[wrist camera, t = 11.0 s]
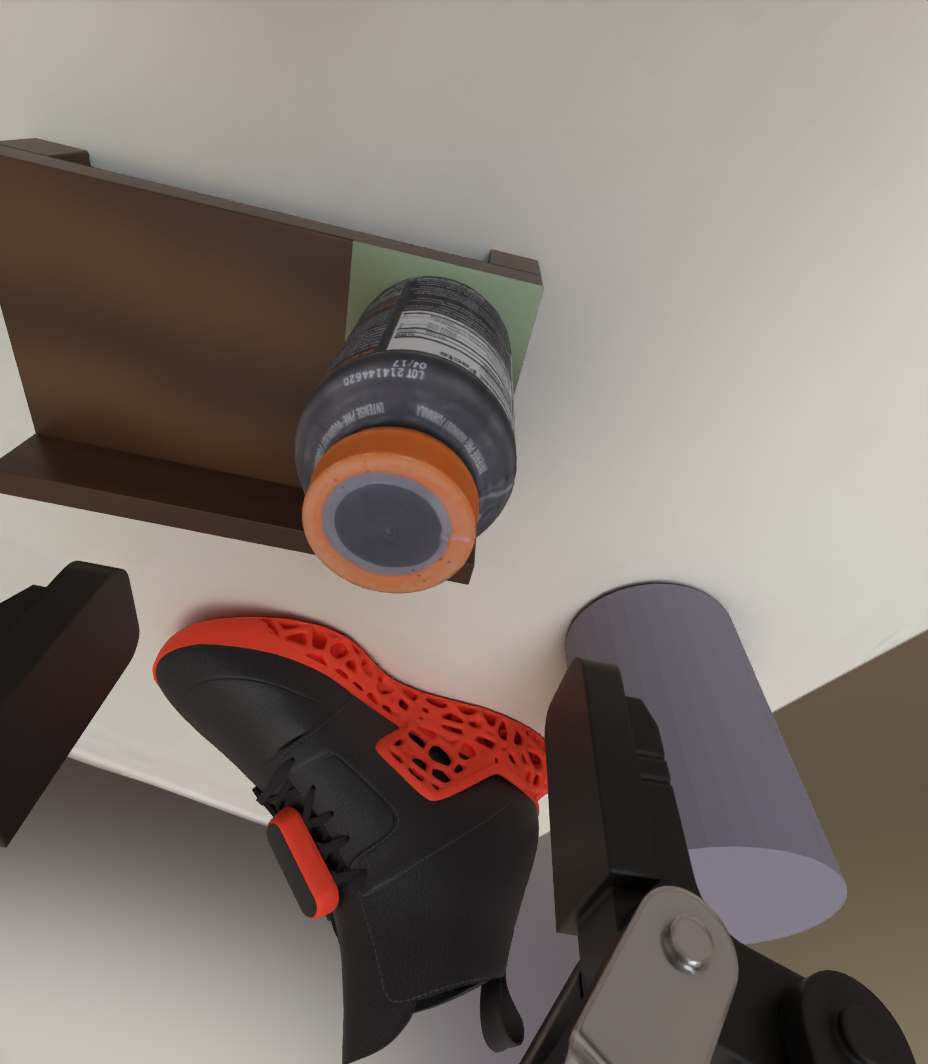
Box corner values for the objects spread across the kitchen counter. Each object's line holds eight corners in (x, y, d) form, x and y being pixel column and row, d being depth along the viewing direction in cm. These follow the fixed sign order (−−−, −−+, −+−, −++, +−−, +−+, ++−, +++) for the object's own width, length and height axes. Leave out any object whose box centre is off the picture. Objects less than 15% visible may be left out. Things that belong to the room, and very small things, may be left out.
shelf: (34, 137, 22) (-127, 150, 16) (538, 260, 23) (549, 310, 18) (92, 417, 29) (-6, 492, 24) (475, 497, 31) (468, 585, 25)
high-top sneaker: (590, 738, 43) (637, 1096, 28) (499, 804, 50) (496, 1123, 34) (202, 568, 35) (-40, 941, 19) (155, 674, 42) (-53, 1016, 26)
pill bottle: (393, 442, 24) (327, 645, 15) (329, 304, 21) (196, 459, 12) (530, 402, 23) (547, 600, 14) (484, 247, 19) (467, 374, 10)
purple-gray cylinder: (632, 554, 32) (705, 819, 20) (769, 621, 35) (906, 892, 23) (534, 657, 38) (547, 911, 26) (657, 708, 41) (721, 961, 29)
